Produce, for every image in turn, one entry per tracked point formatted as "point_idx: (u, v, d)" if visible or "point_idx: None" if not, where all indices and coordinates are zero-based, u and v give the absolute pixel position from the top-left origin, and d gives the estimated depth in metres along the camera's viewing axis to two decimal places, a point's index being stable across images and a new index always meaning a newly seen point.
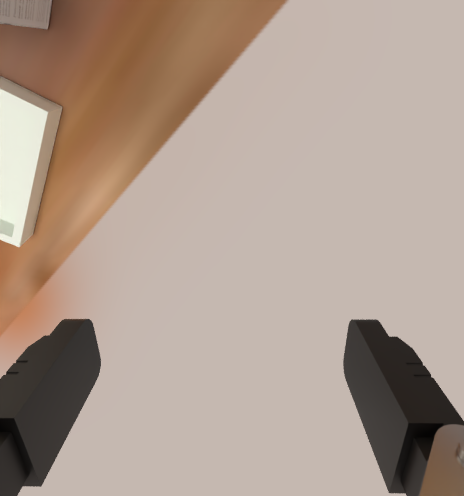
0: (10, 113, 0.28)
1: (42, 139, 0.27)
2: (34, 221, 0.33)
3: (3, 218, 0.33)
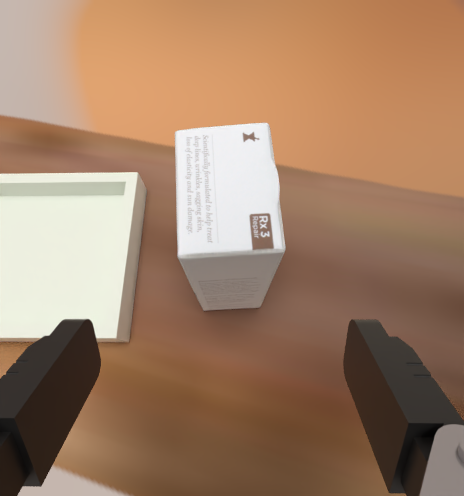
0: (100, 289, 0.23)
1: None
2: None
3: None
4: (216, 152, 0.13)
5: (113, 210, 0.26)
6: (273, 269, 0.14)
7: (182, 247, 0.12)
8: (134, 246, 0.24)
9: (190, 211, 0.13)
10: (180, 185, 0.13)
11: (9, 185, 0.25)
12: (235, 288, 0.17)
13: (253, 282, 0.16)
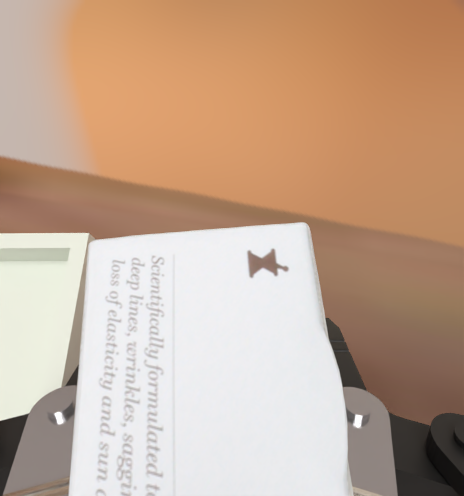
0: None
1: None
2: None
3: None
4: (181, 307, 0.05)
5: (56, 285, 0.18)
6: None
7: None
8: None
9: None
10: (85, 406, 0.05)
11: None
12: None
13: None
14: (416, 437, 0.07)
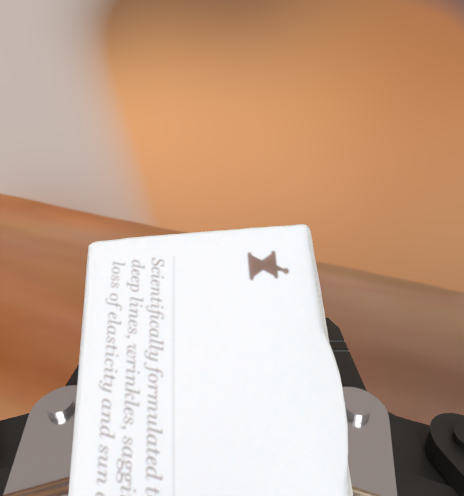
0: None
1: None
2: None
3: None
4: (181, 309, 0.05)
5: None
6: None
7: None
8: None
9: None
10: (84, 408, 0.05)
11: None
12: None
13: None
14: (416, 437, 0.07)
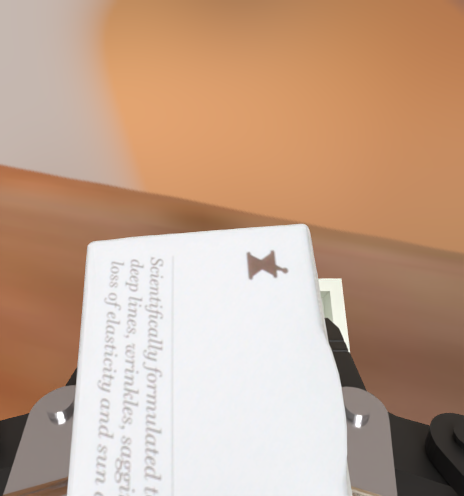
0: None
1: None
2: None
3: None
4: (180, 309, 0.05)
5: None
6: None
7: None
8: None
9: None
10: (83, 408, 0.05)
11: None
12: None
13: None
14: (415, 437, 0.07)
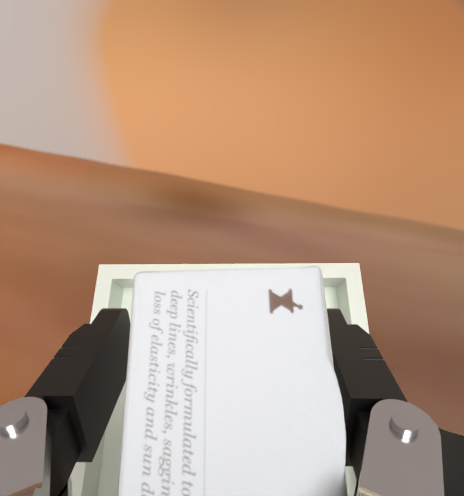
0: None
1: None
2: None
3: (106, 454, 0.16)
4: (212, 335, 0.06)
5: None
6: None
7: None
8: None
9: (147, 493, 0.06)
10: (132, 414, 0.06)
11: None
12: None
13: None
14: None
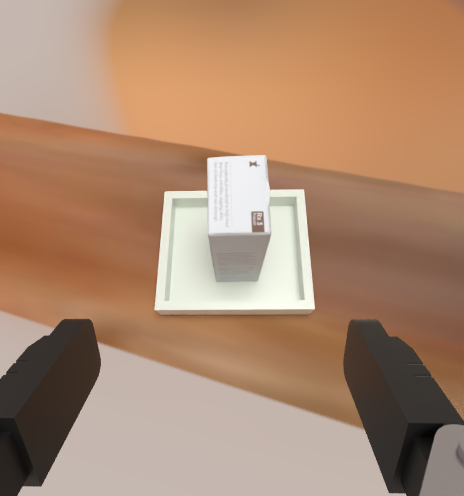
0: (283, 276, 0.32)
1: (286, 309, 0.29)
2: (181, 314, 0.31)
3: (172, 285, 0.32)
4: (232, 172, 0.22)
5: (280, 217, 0.34)
6: (265, 246, 0.23)
7: (211, 229, 0.21)
8: None
9: (216, 208, 0.21)
10: (210, 192, 0.22)
11: (206, 199, 0.33)
12: (240, 261, 0.26)
13: (252, 256, 0.25)
14: None
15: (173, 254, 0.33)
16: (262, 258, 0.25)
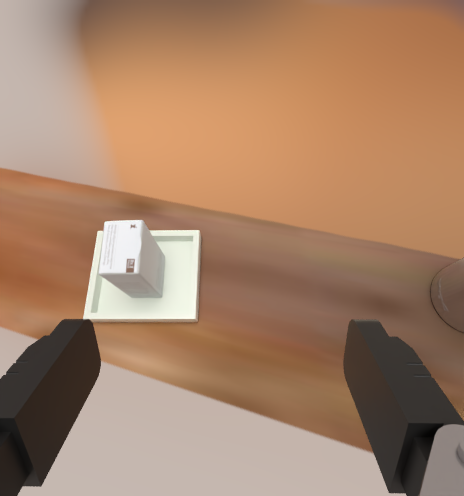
0: (181, 294, 0.44)
1: (176, 319, 0.41)
2: (105, 321, 0.43)
3: (100, 300, 0.44)
4: (118, 232, 0.34)
5: (184, 250, 0.46)
6: (142, 279, 0.35)
7: (100, 270, 0.33)
8: (198, 271, 0.44)
9: (105, 256, 0.33)
10: (103, 245, 0.34)
11: None
12: (135, 286, 0.38)
13: (140, 284, 0.37)
14: None
15: None
16: (148, 285, 0.37)
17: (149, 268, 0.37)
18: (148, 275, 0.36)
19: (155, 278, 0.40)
